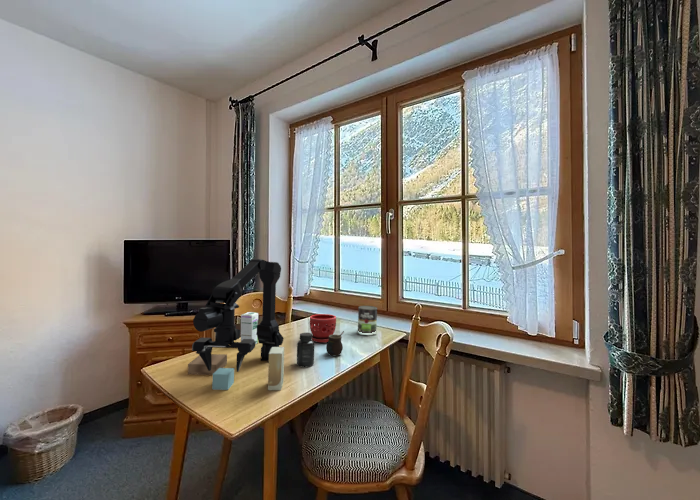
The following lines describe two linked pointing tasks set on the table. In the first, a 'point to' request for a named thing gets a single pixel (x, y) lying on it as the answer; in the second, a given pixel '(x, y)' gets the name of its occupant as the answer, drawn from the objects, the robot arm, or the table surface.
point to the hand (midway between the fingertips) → (223, 370)
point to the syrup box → (249, 326)
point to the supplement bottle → (305, 350)
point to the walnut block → (200, 368)
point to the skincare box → (276, 368)
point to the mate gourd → (334, 345)
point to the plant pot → (322, 327)
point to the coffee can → (367, 319)
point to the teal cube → (223, 379)
